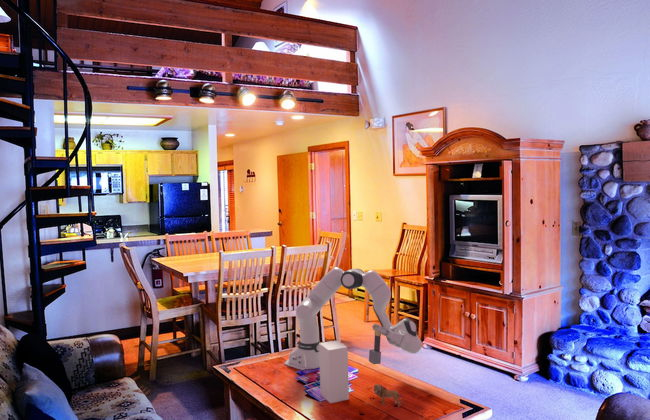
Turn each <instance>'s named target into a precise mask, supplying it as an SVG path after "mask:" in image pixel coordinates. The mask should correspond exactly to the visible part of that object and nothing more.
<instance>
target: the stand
mask: <svg viewBox="0 0 650 420" xmlns="http://www.w3.org/2000/svg"><path fill="white" fill-rule="evenodd" d="M348 348H349V347H348V346H347V345H346V344H343V343H342V342H340V341H339V340H338V339H337V340H330V341H326V342H325V341H324V342H320V343H319V360H320V367H319V385H320V386H319V387H320V389H319V390H320V395H321V396H322V397H323V398H324V399H325V401H327V402H328V403H329V404H333V403H338V402H343V401H347V400H349V399H350V396H349V395H350V389H349V388H350V385H349V357H348V356H349V353H348V350H349V349H348Z"/></svg>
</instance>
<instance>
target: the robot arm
mask: <svg viewBox="0 0 650 420" xmlns="http://www.w3.org/2000/svg"><path fill="white" fill-rule="evenodd" d="M341 287H344V288H345V289H347V290H355V289H358V288H360V287H362V288H364V289H365V291H367V293H368V294H369V296H370V297H371V299H372V300H371V301H372V309H373V311H374V313H375V316H376V318H377V319H378V323H379V324H377V323H374V324H372V330H373V331H374V332H375V327H377V330H378V331H380V332H381V336H384V337H385V338H386V339H387V342H388V343H389V344H390V345H392V346H394V347H396V348H399V349H401V350H402V351H404V352H407V353H410V354H417V353H418V352H420V350H421V349H422V346H423V342H422V340H421V339H420V338H419V336H418V333H417V332H418V331H417V330H418V327H417V324H416V323H415V321H414V320H412V319H411V318H409V317H404V318H403V319H402V320H400V321H399V322H397V323H396V324H394V325H393V324H392V322H391V320H390V319H389V317H388V314H387V311H386V309H387V306H388V304H389V302H390V301H391V296H392V291H391V289H390V287H389V286H388V284H387V283H386V281H385V280H384V279H383V277H382V276H381V275H380V274H379V273H378V272H377V271H376V270H373V269H372V270H368V271H366V272H365V271H364V270H362V269H360V268H350V269H348V270H346V271H345V270H343V269H342V268H340V267H333V268H331V269H330V270H329V271H328V272H327V273H326V274H325V275H323V276H322V278H321V279H320V281H319V282H318V283H317V284H316V285H315V286H314V287H313V289H312V290H311V291H310V293H308V295H307V296H305V298H304V299H303V300H302V301H301V302H299V304H298V305H297V306H296V310H295V316H296V318H297V321H298V325H299V341H297V342H296V345H297V347H295V348H294V349H293V350H291V352H290V353H289V354H288V359H286V360H285V362H284V365H285V366H288V367H292V368H294V369H297V370H299V371H300V370H301V371H305V369H306V370H312V369H313V370H315V369H318V368H320V360H319V343H321V341H320V331H319V330H320V329H319V328H320V327H319V325H318V321H317V314H318V313H319V312H320V311H321V309H323V307H324V306H325V305H326V304H327V302H329V301H330V300H331V298H332V297H333V296H334V295H335V294H336V293H337V292H338V290H339V289H340V288H341Z"/></svg>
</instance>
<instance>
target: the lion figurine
mask: <svg viewBox="0 0 650 420" xmlns="http://www.w3.org/2000/svg"><path fill="white" fill-rule="evenodd" d="M373 393H374V394H375V395H377V397H379V398H381V405H385V400H386V398H387V399H392V398H393V400H394V401H393V403H394V404H397V408H398V407H399V408H400V407H401V404H402V405H405V402H403V401H402V398H401V396H400V393H399V392H398V391H397V390H389V389H387V388H386V387H385V386H383V385H382V384H378V383H377V384H375V385H373Z"/></svg>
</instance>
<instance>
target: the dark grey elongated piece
mask: <svg viewBox="0 0 650 420" xmlns="http://www.w3.org/2000/svg"><path fill="white" fill-rule="evenodd" d="M381 336H382V334H381V332H380V331H378V330H377V327H375V331H374V343H373V348H372V349H369V352H368V362H370V363H371V364H373V365H381V360H382V351H381Z"/></svg>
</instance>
